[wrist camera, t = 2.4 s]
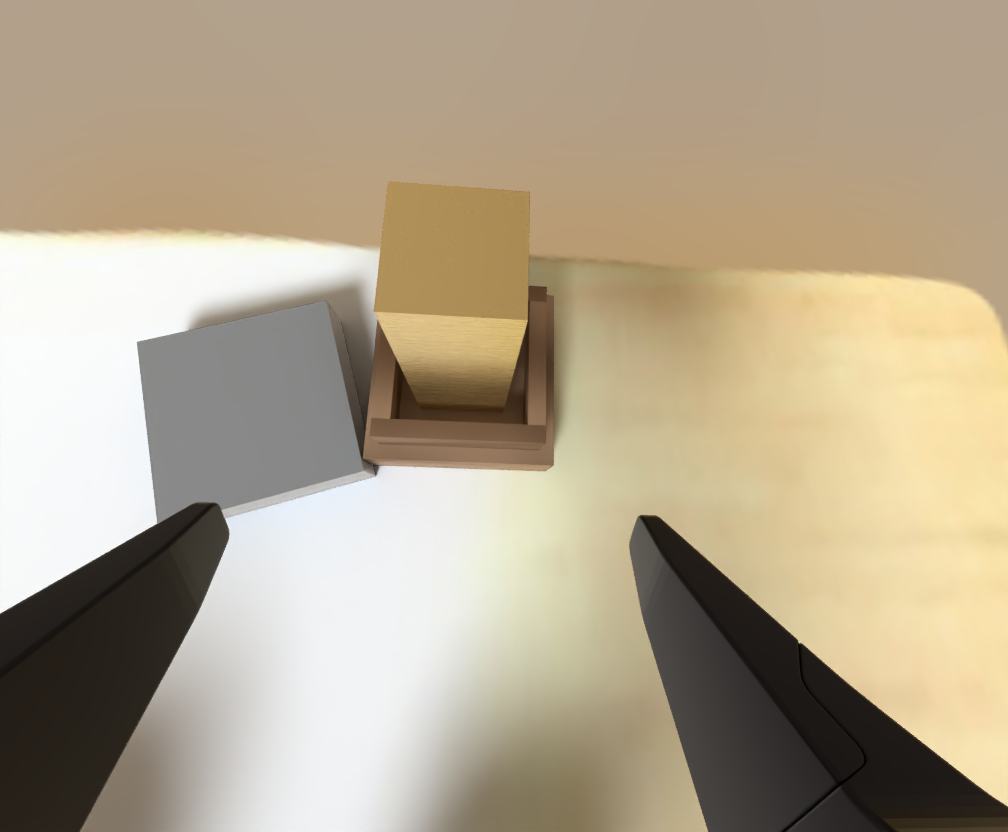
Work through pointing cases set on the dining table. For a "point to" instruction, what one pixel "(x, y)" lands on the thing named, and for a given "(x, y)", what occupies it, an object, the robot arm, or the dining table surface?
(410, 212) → the brass bar
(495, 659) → the dining table surface
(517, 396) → the walnut holder
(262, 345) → the slate plinth
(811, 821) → the robot arm
